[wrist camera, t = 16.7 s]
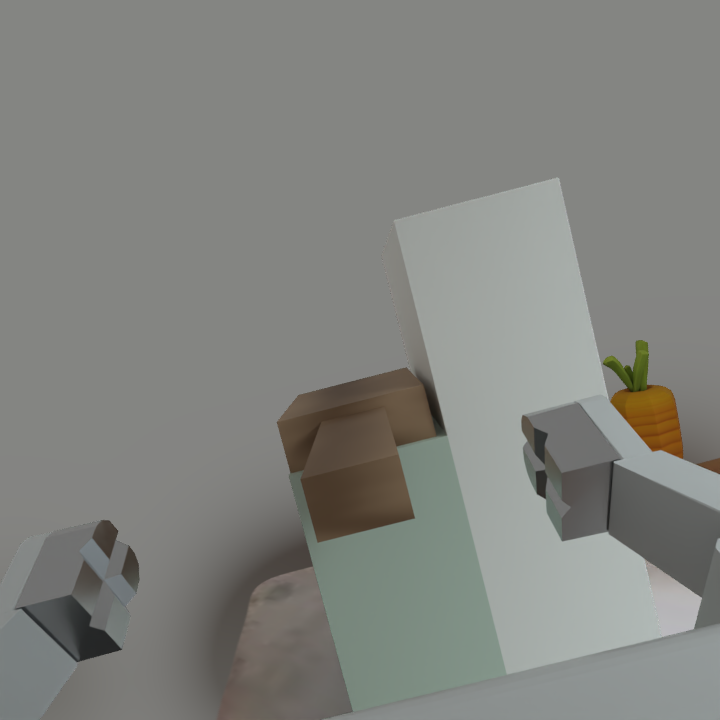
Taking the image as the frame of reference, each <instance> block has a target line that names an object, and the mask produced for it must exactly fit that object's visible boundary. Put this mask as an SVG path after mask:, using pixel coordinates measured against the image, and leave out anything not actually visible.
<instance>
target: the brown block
mask: <svg viewBox="0 0 720 720" xmlns="http://www.w3.org/2000/svg"><path fill="white" fill-rule="evenodd" d="M277 424H278V428H279V432H280V435H281V439H282V443H283V446H284V450H285V454H286V458H287V461H288V465H289V468H290V472H291V473H295V472H299V471H302V470H304V471H303V473H302V476H301V479H300V480H301V483H302V487H303V491H304V495H305V498H306V502H307V506H308V509H309V513H310V517H311V520H312V524H313V528H314V531H315V535H316V539H317V543H319V542H323V541H327V540H331V539H335V538H339V537H343V536H347V535H351V534H355V533H359V532H363V531H367V530H371V529H375V528H379V527H383V526H387V525H391V524H395V523H399V522H403V521H407V520H411V519H415V516H414V512H413V508H412V504H411V500H410V496H409V492H408V489H407V485H406V481H405V477H404V473H403V469H402V465H401V461H400V457H399V454H398V450H397V446H401V445H405V444H409V443H413V442H417V441H421V440H425V439H429V438H432V437H436V432H435V428H434V424H433V420H432V416H431V412H430V408H429V404H428V400H427V396H426V392H425V388H424V385H423V384H422V383H421V382H420V381H419V380H418V379H417V378H416V377H415V376H414V375H413V374H412V373H411V372H410V371H409V370H408V369H407V368H402V369H399V370H395V371H391V372H387V373H383V374H379V375H375V376H371V377H367V378H363V379H359V380H356V381H352V382H348V383H344V384H340V385H336V386H332V387H328V388H324V389H321V390H316V391H313V392H309V393H305V394H301V395H298V396H297V398H296V399H295V400H294V401H293V403H292V404H291V405H290V406H289V408H288V409H287V410H286V411H285V413H284V414H283V415H282V416H281V418H280V419H279V420H278V421H277Z"/></svg>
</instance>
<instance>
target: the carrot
mask: <svg viewBox="0 0 720 720" xmlns="http://www.w3.org/2000/svg"><path fill="white" fill-rule="evenodd" d="M648 356H649V354H648V343H647V342H645V341H643V340H638V341H636V359H635V363H634V367H633V372H632V370H631V368H630V366H627V365H626V366H625V367H624V368H623V366H622V365H621V363H620V362H619V361H618V360H617V359H616V358H615V357H614V356H609V357H607V358H606V359H605V360H604V362H603V364H604V365H605V366H607V367H609V368H611V369H612V370H613V371H614V372H615V373H616V374H617V375H618V376H619V378H620V379H621V380H622V381H623V383H625V385H626V386H627V387H628V388H627V389H624V390H620V391H618V392H617V393H615V394H614V396H613V397H612V399H611V401H610V403H611V404H612V405H613V406H614V407H615V408H616V410H617V411H618V412H619V413H620V414H621V415H622V417H623V418H624V419H625V420H626V421H627V423H628V424H629V425H630V426H631V427H632V428H633V430H634V431H635V432H636V433H637V434H638V435H639V437H640V438H641V439H642V440H643V441H644V442H645V444H646V445H647V446H648V447H649V448H650V450H651V451H652V452H655V451H659V450H662V451H664V452H667V453H669V454H671V455H674V456H676V457H679V458H681V459H683V445H682V437H681V431H680V424H679V418H678V413H677V408H676V403H675V398H674V395H673V393H672V392H671V390H669V389H668V388H666V387H663V386H659V385H647V373H648Z"/></svg>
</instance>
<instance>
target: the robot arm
mask: <svg viewBox="0 0 720 720" xmlns="http://www.w3.org/2000/svg"><path fill="white" fill-rule="evenodd" d="M521 427H522V432H523V434H524V436H525V437H526V439H527V442H526V443H525V445H524V446H523V455H524V462H525V466H526V470H527V474H528V476H529V479H530V481H531V484H532V486H533V488H534V490H535V492H536V494H537V495H539V496H541V497H543V498H544V499H546V510H547V514H548V516H549V518H550V520H551V522H552V524H553V526H554V527H555V529H556V531H557V533H558V535H559V537H560V539H561V540H562V542H563V541H567V540H572V539H577V538H581V537H586V536H590V535H595V534H600V533H604V532H608V534H609V535H611V536H612V537H614V538H615V539H617V540H618V541H619V542H621V543H622V544H624V545H625V546H627V547H628V548H630V549H631V550H633V551H634V552H636V553H637V554H639V555H640V556H641V557H643V558H644V559H646V560H647V561H649V562H650V563H652V564H653V565H655V566H656V567H658V568H659V569H661V570H662V571H663V572H665V573H666V574H668V575H669V576H671V577H672V578H674V579H675V580H677V581H678V582H680V583H681V584H683V585H684V586H685V587H687V588H688V589H690V590H691V591H693V592H694V593H696V594H697V595H699V596H700V597H702V601H701V604H700V608H699V612H698V616H697V620H696V624H695V627H694V629H693V630H689V631H685V632H681V633H677V634H673V635H669V636H665V637H660V638H656V639H652V640H648V641H644V642H640V643H636V644H631V645H627V646H623V647H619V648H615V649H611V650H607V651H603V652H598V653H594V654H590V655H586V656H582V657H578V658H574V659H569V660H565V661H561V662H557V663H553V664H549V665H545V666H541V667H536V668H532V669H528V670H524V671H520V672H516V673H512V674H507V675H503V676H499V677H495V678H491V679H487V680H482V681H478V682H474V683H470V684H466V685H462V686H458V687H453V688H449V689H445V690H441V691H437V692H433V693H429V694H424V695H420V696H416V697H412V698H408V699H404V700H400V701H395V702H391V703H387V704H383V705H379V706H375V707H371V708H366V709H362V710H358V711H354V712H350V713H346V714H342V715H337V716H333V717H329V718H325V719H321V720H720V474H717V473H715V472H712V471H710V470H708V469H705V468H703V467H700V466H698V465H695V464H693V463H691V462H688V461H686V460H683V459H681V458H679V457H676V456H674V455H671V454H669V453H667V452H664V451H662V450H659V451H655V452H652V451H651V450H650V448H649V447H648V446H647V445H646V444H645V442H644V441H643V440H642V439H641V438H640V437H639V435H638V434H637V433H636V432H635V431H634V430H633V428H632V427H631V426H630V425H629V424H628V423H627V421H626V420H625V419H624V418H623V417H622V415H621V414H620V413H619V412H618V411H617V410H616V408H615V407H614V406H613V405H612V404H611V403H610V401H609V400H608V399H607V398H606V397H605V396H603V395H601V394H600V395H596V396H592V397H588V398H585V399H581V400H577V401H574V402H570V403H566V404H562V405H558V406H555V407H551V408H547V409H543V410H539V411H535V412H532V413H528V414H524V415H522V419H521ZM117 534H118V530H117V529H116V528H115V527H114V525H113V524H112V523H111V522H110V521H108V520H101V521H97V522H92V523H88V524H83V525H79V526H75V527H70V528H66V529H62V530H57V531H53V532H51V533H46V534H42V535H37V536H32V537H28V538H27V539H26V540H25V541H23V542H22V543H21V544H20V546H19V548H18V550H17V552H16V554H15V556H14V558H13V560H12V562H11V564H10V566H9V568H8V570H7V573H6V575H5V577H4V578H3V581H2V583H1V585H0V720H40V719H41V718H42V716H43V715H44V713H45V712H46V710H47V709H48V707H49V706H50V704H51V703H52V702H53V700H54V699H55V697H56V696H57V695H58V693H59V692H60V690H61V689H62V687H63V686H64V684H65V683H66V682H67V680H68V679H69V677H70V676H71V674H72V673H73V672H74V670H75V669H76V667H77V666H78V663H77V662H79V661H82V660H86V659H90V658H94V657H97V656H101V655H104V654H108V653H112V652H115V651H119V650H122V648H123V644H124V640H125V636H126V632H127V628H128V624H129V620H130V617H131V615H130V613H129V611H128V610H127V608H126V605H127V604H128V603H129V602H130V600H131V599H132V598H133V597H134V596H135V594H136V592H137V588H138V583H139V565H138V561H137V559H136V556H135V553H134V552H133V550H132V549H131V548H130V546H129V545H126V544H124V543H122V542H119V541H117V540H116V537H117Z"/></svg>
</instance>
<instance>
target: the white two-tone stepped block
mask: <svg viewBox="0 0 720 720" xmlns="http://www.w3.org/2000/svg"><path fill="white" fill-rule="evenodd" d="M381 256H382V260H383V264H384V268H385V272H386V276H387V280H388V284H389V288H390V292H391V296H392V300H393V304H394V307H395V312H396V316H397V320H398V324H399V327H400V332H401V336H402V339H403V344H404V347H405V352H406V355H407V360H408V364H409V368H410V372H411V373H412V374H413V375H414V376H415V377H416V378H417V379H418V380H419V381H420V382H421V383H422V384H423V385H424V388H425V392H426V396H427V400H428V404H429V408H430V412H431V416H432V420H433V424H434V428H435V432H436V437H432V438H429V439H425V440H421V441H417V442H413V443H409V444H405V445H401V446H397V450H398V454H399V457H400V461H401V465H402V469H403V473H404V477H405V481H406V485H407V489H408V492H409V496H410V500H411V504H412V508H413V512H414V516H415V519H411V520H407V521H403V522H399V523H395V524H391V525H387V526H383V527H379V528H375V529H371V530H367V531H363V532H359V533H355V534H351V535H347V536H343V537H339V538H335V539H331V540H327V541H323V542H319V543H317V539H316V535H315V531H314V528H313V524H312V520H311V517H310V513H309V509H308V506H307V502H306V498H305V495H304V491H303V487H302V483H301V480H300V479H301V476H302V473H303V471H304V470H302V471H299V472H295V473H291V472H290V475H289V479H290V482H291V486H292V489H293V493H294V497H295V501H296V504H297V508H298V512H299V515H300V519H301V523H302V526H303V530H304V534H305V537H306V541H307V545H308V548H309V552H310V556H311V559H312V563H313V567H314V571H315V574H316V578H317V582H318V585H319V589H320V593H321V596H322V600H323V604H324V607H325V611H326V615H327V618H328V622H329V626H330V629H331V633H332V637H333V640H334V644H335V648H336V651H337V655H338V659H339V662H340V666H341V670H342V673H343V677H344V681H345V684H346V688H347V692H348V695H349V699H350V703H351V706H352V710H353V712H354V711H358V710H362V709H366V708H371V707H375V706H379V705H383V704H387V703H391V702H395V701H400V700H404V699H408V698H412V697H416V696H420V695H424V694H429V693H433V692H437V691H441V690H445V689H449V688H453V687H458V686H462V685H466V684H470V683H474V682H478V681H482V680H487V679H491V678H495V677H499V676H503V675H507V674H512V673H516V672H520V671H524V670H528V669H532V668H536V667H541V666H545V665H549V664H553V663H557V662H561V661H565V660H569V659H574V658H578V657H582V656H586V655H590V654H594V653H598V652H603V651H607V650H611V649H615V648H619V647H623V646H627V645H631V644H636V643H640V642H644V641H648V640H652V639H656V638H660V637H662V635H661V631H660V626H659V622H658V617H657V613H656V608H655V604H654V599H653V595H652V591H651V586H650V582H649V577H648V573H647V568H646V564H645V559H644V558H643V557H641V556H640V555H639V554H637V553H636V552H634V551H633V550H631V549H630V548H628V547H627V546H625V545H624V544H622V543H621V542H619V541H618V540H617V539H615V538H614V537H612V536H611V535H609V534H608V532H604V533H600V534H595V535H590V536H586V537H581V538H577V539H572V540H567V541H563V542H562V540H561V539H560V537H559V535H558V533H557V531H556V529H555V527H554V526H553V524H552V522H551V520H550V518H549V516H548V514H547V510H546V499H544V498H543V497H541V496H539V495H537V494H536V492H535V490H534V488H533V486H532V484H531V481H530V479H529V476H528V474H527V470H526V466H525V462H524V455H523V446H524V445H525V443H526V442H527V439H526V437H525V436H524V434H523V432H522V427H521V419H522V415H524V414H528V413H532V412H535V411H539V410H543V409H547V408H551V407H555V406H558V405H562V404H566V403H570V402H574V401H577V400H581V399H585V398H588V397H592V396H596V395H600V394H601V395H603V396H605V397H606V398H607V399H608V395H607V391H606V386H605V382H604V377H603V373H602V368H601V364H600V359H599V355H598V350H597V346H596V341H595V337H594V332H593V328H592V323H591V319H590V315H589V310H588V306H587V301H586V297H585V292H584V288H583V283H582V279H581V274H580V270H579V266H578V261H577V257H576V252H575V248H574V244H573V239H572V235H571V230H570V226H569V221H568V217H567V212H566V208H565V203H564V199H563V194H562V190H561V185H560V181H559V178H554V179H550V180H547V181H543V182H539V183H535V184H532V185H527V186H524V187H520V188H516V189H512V190H509V191H505V192H501V193H497V194H493V195H489V196H486V197H482V198H478V199H474V200H470V201H466V202H462V203H458V204H455V205H451V206H447V207H444V208H439V209H435V210H432V211H428V212H424V213H420V214H416V215H412V216H409V217H405V218H401V219H397V220H394V221H393V225H392V227H391V230H390V233H389V236H388V238H387V241H386V244H385V247H384V250H383V253H382V255H381ZM608 400H609V399H608Z"/></svg>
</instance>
